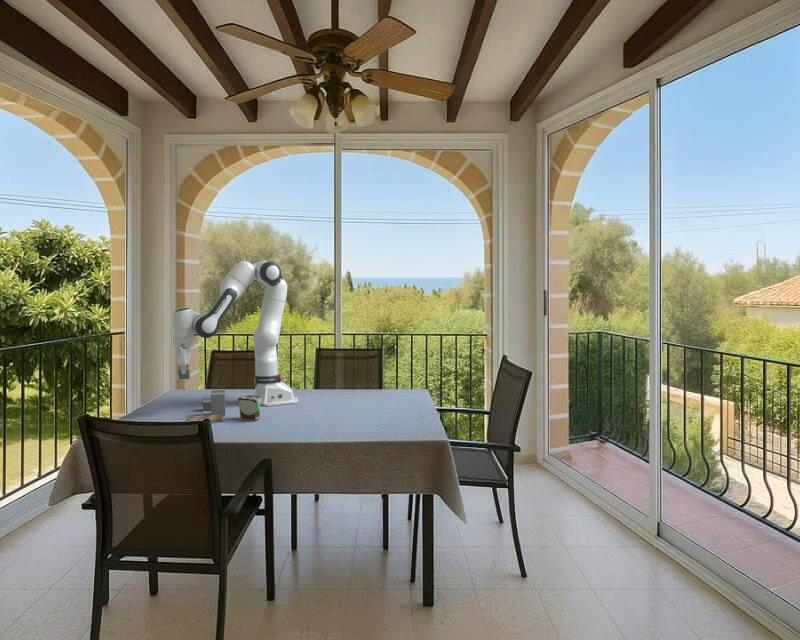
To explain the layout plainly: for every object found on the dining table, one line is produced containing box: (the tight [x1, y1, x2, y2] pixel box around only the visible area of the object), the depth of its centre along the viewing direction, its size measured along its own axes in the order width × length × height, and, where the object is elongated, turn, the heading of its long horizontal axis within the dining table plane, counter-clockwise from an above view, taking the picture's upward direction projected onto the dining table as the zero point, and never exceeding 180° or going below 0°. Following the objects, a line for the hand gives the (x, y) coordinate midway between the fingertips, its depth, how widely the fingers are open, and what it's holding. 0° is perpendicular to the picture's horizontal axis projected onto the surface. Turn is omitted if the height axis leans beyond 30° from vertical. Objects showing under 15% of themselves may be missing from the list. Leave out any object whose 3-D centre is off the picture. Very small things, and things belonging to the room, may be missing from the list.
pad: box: [187, 414, 224, 424], centre depth 236 cm, size 14×10×1 cm
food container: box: [237, 394, 262, 422], centre depth 239 cm, size 12×6×10 cm, turn 59°
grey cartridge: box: [202, 396, 211, 412], centre depth 255 cm, size 4×4×6 cm
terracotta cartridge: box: [177, 364, 191, 380], centre depth 248 cm, size 4×4×6 cm
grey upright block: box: [210, 389, 226, 417], centre depth 246 cm, size 6×6×11 cm
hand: (184, 372), depth 248 cm, fingers closed on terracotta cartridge, 4 cm apart
